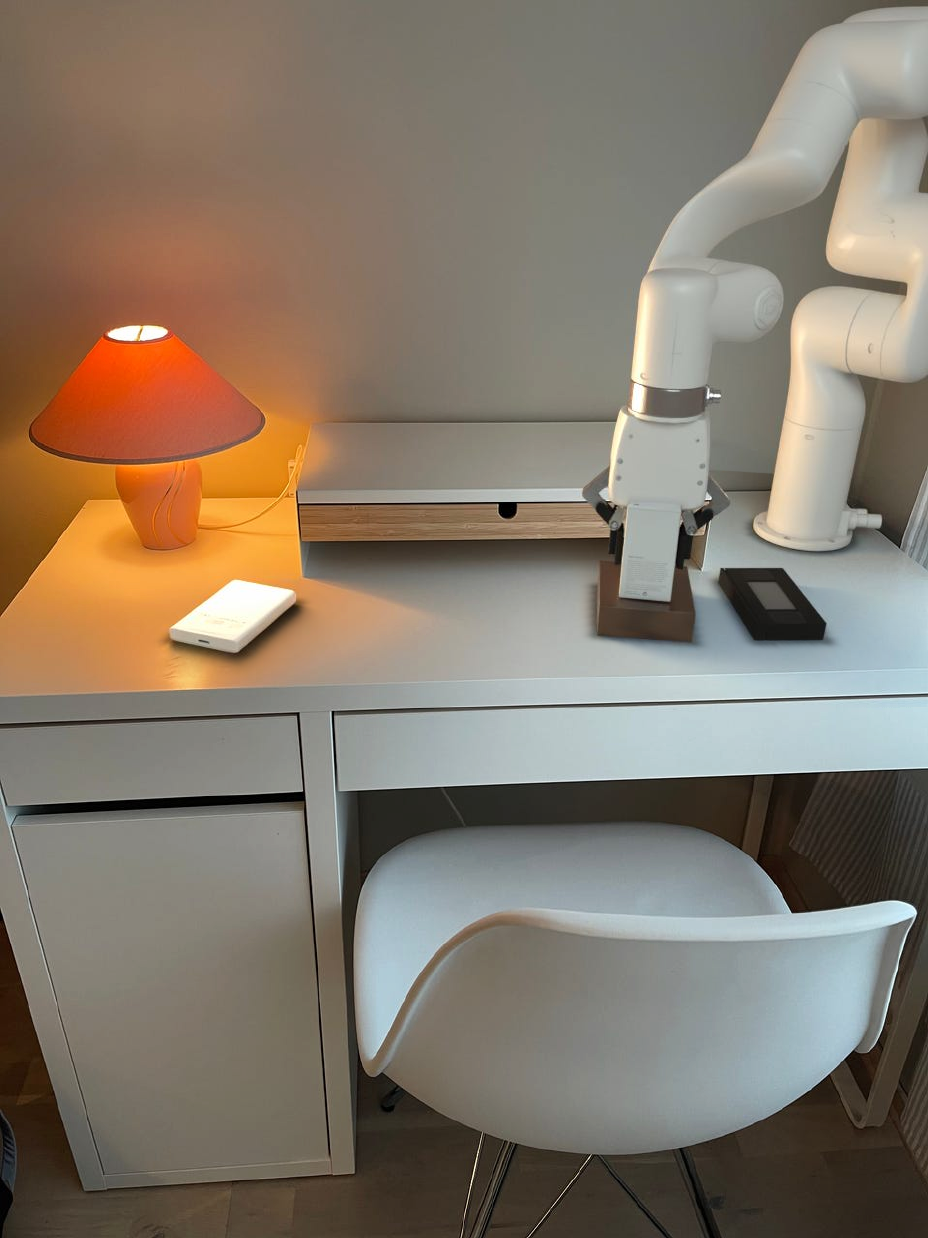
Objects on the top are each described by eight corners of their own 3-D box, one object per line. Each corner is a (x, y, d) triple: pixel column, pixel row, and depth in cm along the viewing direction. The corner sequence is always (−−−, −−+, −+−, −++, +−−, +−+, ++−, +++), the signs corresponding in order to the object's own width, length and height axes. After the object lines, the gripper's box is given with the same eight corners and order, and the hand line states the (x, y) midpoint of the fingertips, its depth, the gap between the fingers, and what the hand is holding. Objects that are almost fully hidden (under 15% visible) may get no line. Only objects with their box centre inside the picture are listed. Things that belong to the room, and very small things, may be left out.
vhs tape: (779, 582, 119) (782, 567, 118) (823, 640, 106) (827, 624, 105) (718, 583, 118) (720, 567, 118) (754, 641, 106) (757, 624, 105)
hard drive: (297, 603, 112) (238, 654, 101) (233, 591, 114) (169, 640, 104) (296, 590, 111) (236, 640, 100) (232, 578, 113) (168, 626, 103)
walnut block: (683, 593, 116) (687, 566, 114) (691, 642, 105) (695, 613, 104) (597, 587, 117) (600, 560, 115) (596, 635, 106) (599, 606, 105)
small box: (670, 603, 105) (682, 511, 100) (617, 598, 106) (626, 506, 101) (671, 572, 112) (682, 485, 107) (621, 568, 113) (630, 480, 108)
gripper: (749, 393, 102) (724, 553, 110) (581, 385, 104) (569, 543, 112) (759, 413, 95) (732, 582, 104) (579, 404, 97) (567, 570, 106)
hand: (647, 560), depth 108 cm, fingers open, 6 cm apart
